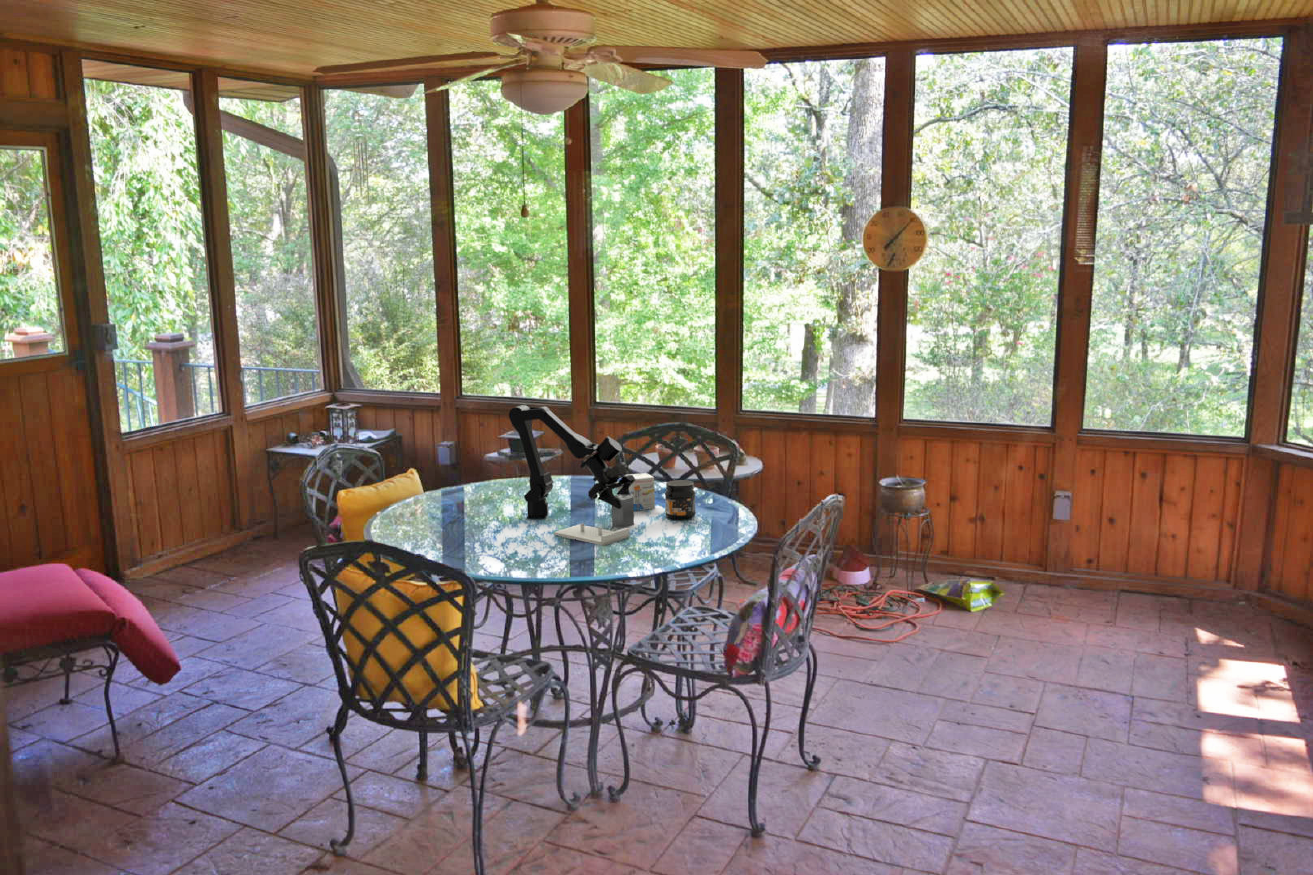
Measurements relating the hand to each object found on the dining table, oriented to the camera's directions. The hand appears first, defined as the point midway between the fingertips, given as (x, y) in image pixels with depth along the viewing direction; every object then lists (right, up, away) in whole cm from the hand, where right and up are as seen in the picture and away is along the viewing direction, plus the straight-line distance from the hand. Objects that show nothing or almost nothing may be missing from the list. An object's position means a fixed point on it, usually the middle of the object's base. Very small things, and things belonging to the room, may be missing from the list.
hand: (625, 506), depth 357 cm
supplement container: (+19, -4, +12) cm, 22 cm away
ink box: (+4, -2, +26) cm, 27 cm away
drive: (-1, -6, +2) cm, 7 cm away
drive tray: (-11, -9, -11) cm, 18 cm away
